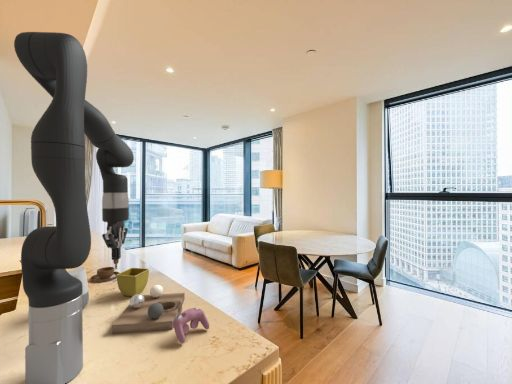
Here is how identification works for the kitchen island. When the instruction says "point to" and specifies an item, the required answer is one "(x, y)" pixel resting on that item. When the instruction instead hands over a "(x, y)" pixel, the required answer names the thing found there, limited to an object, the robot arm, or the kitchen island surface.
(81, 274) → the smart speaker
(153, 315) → the dark grey ball
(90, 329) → the kitchen island surface
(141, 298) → the steel ball
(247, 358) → the kitchen island surface
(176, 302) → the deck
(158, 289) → the white ball
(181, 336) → the video game controller
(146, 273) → the flower pot
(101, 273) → the place setting
